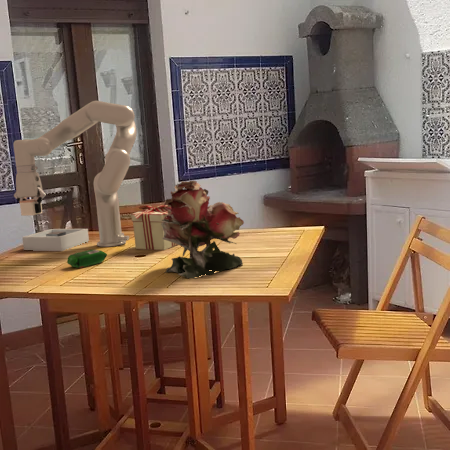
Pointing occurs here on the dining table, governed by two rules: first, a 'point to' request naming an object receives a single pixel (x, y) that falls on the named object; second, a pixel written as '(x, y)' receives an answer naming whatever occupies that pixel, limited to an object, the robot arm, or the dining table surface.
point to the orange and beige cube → (28, 207)
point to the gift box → (150, 228)
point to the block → (55, 234)
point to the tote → (55, 240)
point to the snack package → (86, 258)
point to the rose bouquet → (199, 231)
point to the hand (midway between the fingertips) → (31, 212)
